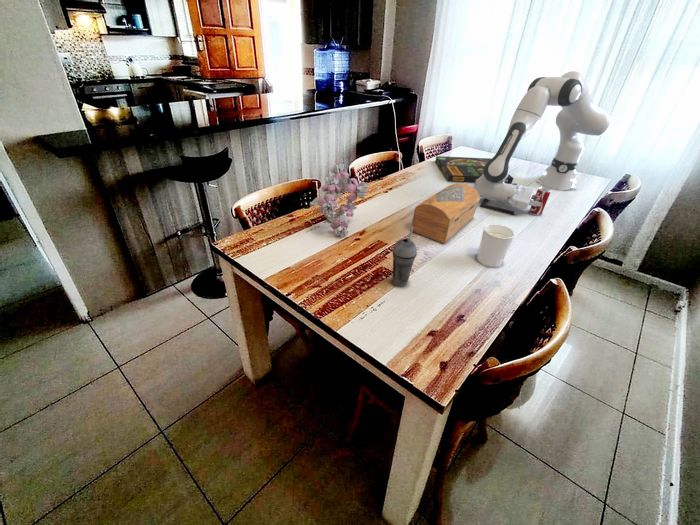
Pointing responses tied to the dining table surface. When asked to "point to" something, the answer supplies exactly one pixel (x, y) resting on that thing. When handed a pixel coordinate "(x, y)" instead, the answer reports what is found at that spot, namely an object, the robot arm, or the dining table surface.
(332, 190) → the pink flower bunch
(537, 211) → the soda can
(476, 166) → the pizza box
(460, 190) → the wooden box
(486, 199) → the bay
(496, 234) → the candle holder
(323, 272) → the dining table surface
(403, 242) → the beverage cup
